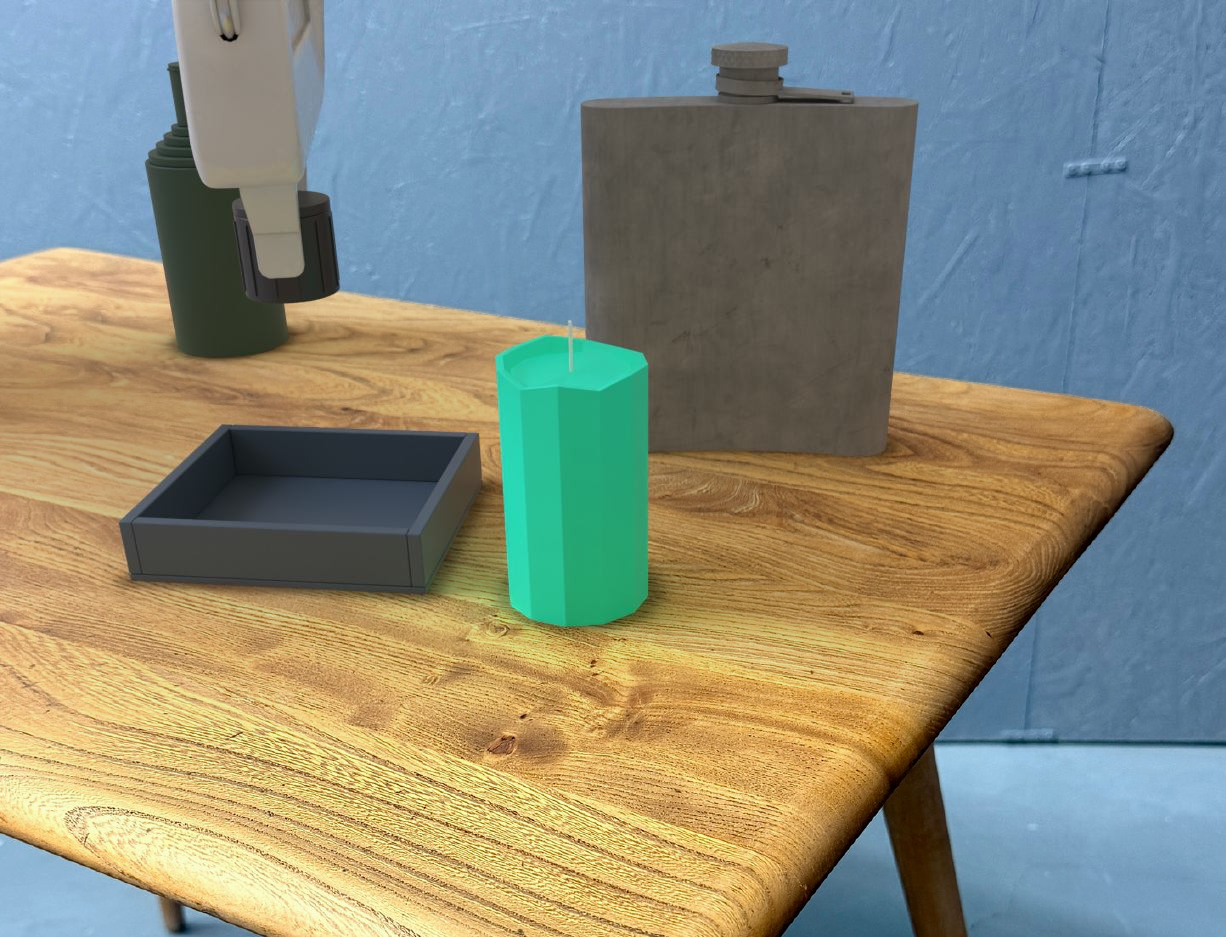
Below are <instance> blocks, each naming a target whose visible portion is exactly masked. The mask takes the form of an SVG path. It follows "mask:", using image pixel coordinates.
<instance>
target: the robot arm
mask: <svg viewBox="0 0 1226 937" xmlns="http://www.w3.org/2000/svg"><path fill="white" fill-rule="evenodd" d="M324 1H325V0H170V2H171V3H170V4H171V14H172V21H173V31H174V36H175V45H176V51H177V59H178V62H179V68H180V75H181V82H182V89H183V96H184V103H185V109H186V116H187V123H188V130H189V137H190V144H191V148H192V153H193V157H194V161H195V164H196V167H197V170H198V173H199V175H200V178H201V180H202V182H203V183H204V184H205V185H206V186H208V187H210V188H239V190H240V196H241V199H242V202H243V205H244V208H245V212H246V215H247V218H248V221H249V224H250V227H251V230H252V233H253V236H254V242H255V249H256V255H257V261H258V268H259V271H260V272H261V274H262V275H263V276H265V277H267V278H269V279H272V278H290V277H297V276H299V275H300V274H301V273H302V272H303V270H304V266H305V250H304V243H303V235H302V227H301V224H300V216H299V203H298V191H309V190H308V159H309V155H310V151H311V148H312V143H313V141H314V136H315V131H316V128H317V125H318V121H319V117H320V114H321V110H322V107H323V102H324V96H325V95H324V94H325V71H326V70H325V68H326V67H325V65H326V64H325V62H326V60H325V59H326V56H325V54H326V52H325V51H326V50H325V49H326V48H325V47H326V46H325V45H326V44H325V2H324Z"/></svg>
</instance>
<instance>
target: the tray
mask: <svg viewBox="0 0 1226 937" xmlns="http://www.w3.org/2000/svg"><path fill="white" fill-rule="evenodd" d="M480 440H481V439H480V433H479V432H472V431H471V432H470V431H469V432H466V431H442V430H441V431H438V430H412V429H411V430H410V429H409V430H408V429H378V428H377V429H376V428H353V427H352V428H351V427H350V428H348V427H347V428H346V427H321V426H319V427H318V426H290V425H289V426H288V425H287V426H285V425H262V424H261V425H258V424H257V425H256V424H231V423H230V424H229V423H228V424H226V423H222V424H221V425H220V426H218V427H217V429H215V430H214V431H213V432H212V433H211V434H210V435H209V436H208V437H207V438H206V439H204V440H203V442H201V444H200V445H198V447H196V448H195V449H194V450H193V451H192V452H191V453H190V454H189V455H188V456H187V457H186V458H185V459H184V460H182V461H181V462H180V464H178V465H177V466H176V467H175V468H174V469H173V470H172V471H171V472H170V473H169V474H168V475H166V477H165V478H163V479H162V480H161V482H159V483H158V484H157V485H156V486H155V487H154V488H153V489H152V490H150V492H149V493H148V494H146V495H145V496H144V497H143V498H142V499H141V500H140V501H139V502H138V503H137V504H136V505H135V506H133V507H132V509H131V510H129V511H128V512H127V513H126V514H125V515H124V516H123V517H122V518H121V519H119V521H118V526H119V531H120V536H121V540H122V546H123V550H124V556H125V559H126V565H127V569H128V573H129V578H130V581H131V582H146V583H147V582H149V583H170V584H191V585H212V586H231V587H232V586H233V587H234V586H235V587H251V588H252V587H255V588H274V589H277V588H278V589H294V590H295V589H298V590H316V591H317V590H320V591H340V592H358V593H360V592H361V593H379V594H380V593H382V594H383V593H384V594H401V595H403V594H404V595H421V596H422V595H427V594H428V592H429V590H430V588H431V586H432V584H433V582H434V581H435V578H436V577H437V574H438V572H439V571H440V569H441V567H442V565H443V563H444V561H445V560H446V557H447V555H448V553H449V552H450V549H451V548H452V546H453V543H454V542H455V541H456V538H457V536H458V534H459V532H460V530H461V528H462V527H463V524H464V523H465V521H466V518H467V517H468V515H469V513H470V511H471V509H472V507H473V505H474V503H475V501H476V500H477V497H478V495H479V493H480V492H481V490H482V488H483V480H482V479H483V471H482V470H483V469H482V457H481V456H482V455H481V442H480Z"/></svg>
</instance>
